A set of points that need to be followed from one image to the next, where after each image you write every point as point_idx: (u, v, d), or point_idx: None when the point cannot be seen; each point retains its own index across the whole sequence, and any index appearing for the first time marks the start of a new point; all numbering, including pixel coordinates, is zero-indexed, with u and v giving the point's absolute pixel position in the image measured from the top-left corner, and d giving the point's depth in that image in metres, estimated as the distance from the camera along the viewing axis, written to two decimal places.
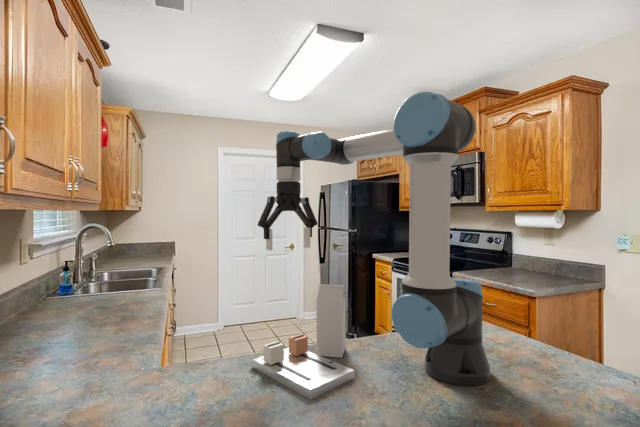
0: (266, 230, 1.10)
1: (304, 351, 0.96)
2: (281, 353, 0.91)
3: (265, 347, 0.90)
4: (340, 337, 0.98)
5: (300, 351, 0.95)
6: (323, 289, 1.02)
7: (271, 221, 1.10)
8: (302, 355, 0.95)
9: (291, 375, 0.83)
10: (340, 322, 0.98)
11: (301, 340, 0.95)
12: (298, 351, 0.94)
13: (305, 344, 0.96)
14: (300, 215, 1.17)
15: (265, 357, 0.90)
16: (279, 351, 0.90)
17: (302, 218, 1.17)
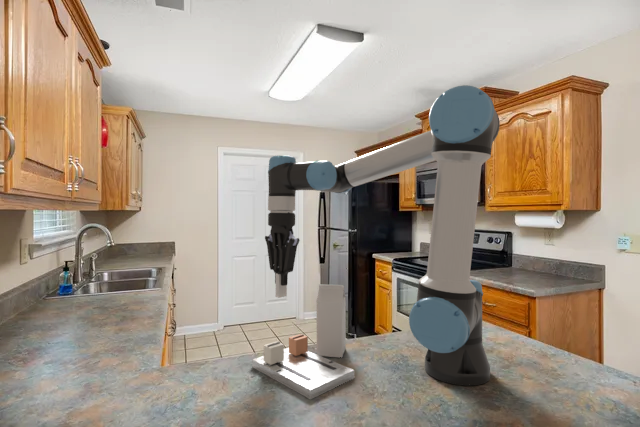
0: (275, 274, 1.02)
1: (304, 351, 0.96)
2: (281, 353, 0.91)
3: (265, 347, 0.90)
4: (340, 337, 0.98)
5: (300, 351, 0.95)
6: (323, 289, 1.02)
7: (274, 263, 1.02)
8: (302, 355, 0.95)
9: (291, 375, 0.83)
10: (340, 322, 0.98)
11: (301, 340, 0.95)
12: (298, 351, 0.94)
13: (305, 344, 0.96)
14: None
15: (265, 357, 0.90)
16: (279, 351, 0.90)
17: None
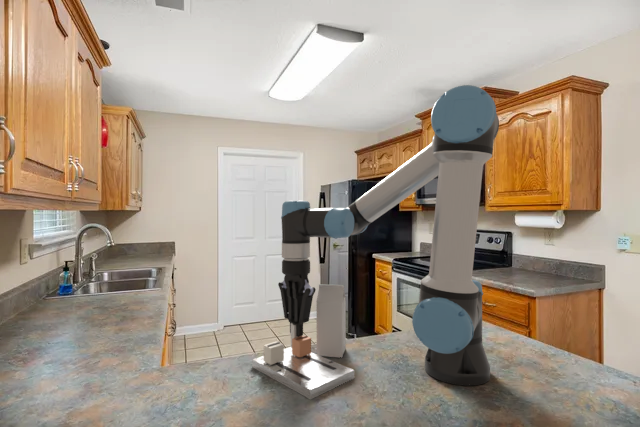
0: (290, 323, 0.98)
1: (308, 352, 0.95)
2: (281, 353, 0.91)
3: (265, 347, 0.90)
4: (340, 337, 0.98)
5: (304, 353, 0.94)
6: (323, 289, 1.02)
7: (289, 312, 0.97)
8: None
9: (291, 375, 0.83)
10: (340, 322, 0.98)
11: (305, 341, 0.94)
12: (301, 353, 0.93)
13: (309, 345, 0.95)
14: None
15: (265, 357, 0.90)
16: (279, 351, 0.90)
17: None
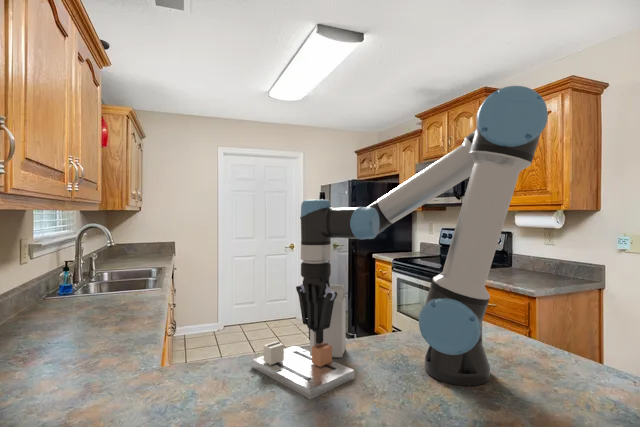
0: (309, 330, 0.92)
1: (328, 361, 0.89)
2: (281, 353, 0.91)
3: (265, 347, 0.90)
4: (340, 337, 0.98)
5: (324, 361, 0.88)
6: None
7: (308, 318, 0.91)
8: (302, 355, 0.95)
9: (291, 375, 0.83)
10: (340, 322, 0.98)
11: (325, 350, 0.88)
12: (322, 361, 0.88)
13: (329, 354, 0.89)
14: None
15: (265, 357, 0.90)
16: (279, 351, 0.90)
17: None
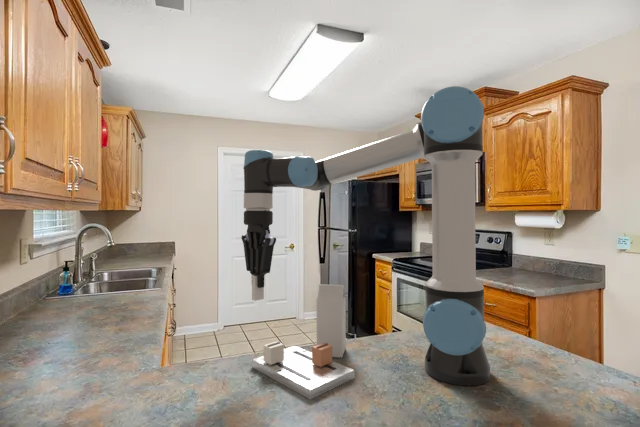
0: None
1: (329, 361, 0.89)
2: (281, 353, 0.91)
3: (265, 347, 0.90)
4: (340, 337, 0.98)
5: (325, 361, 0.88)
6: (323, 289, 1.02)
7: (251, 264, 0.96)
8: (302, 355, 0.95)
9: (291, 375, 0.83)
10: (340, 322, 0.98)
11: (326, 350, 0.88)
12: (322, 362, 0.88)
13: (330, 354, 0.89)
14: None
15: (265, 357, 0.90)
16: (279, 351, 0.90)
17: None
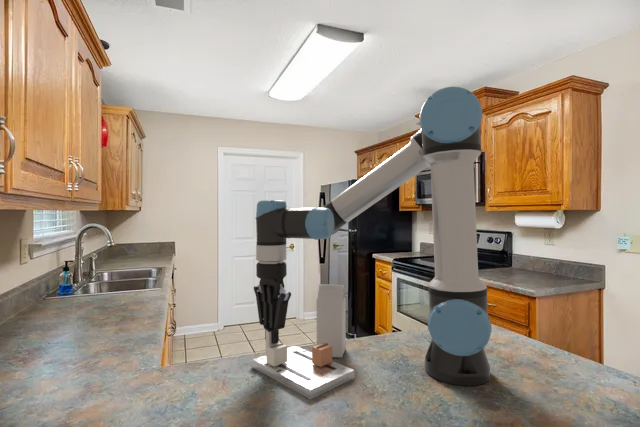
0: (266, 330, 0.92)
1: (329, 361, 0.89)
2: (284, 355, 0.90)
3: (268, 348, 0.89)
4: (340, 337, 0.98)
5: (325, 361, 0.88)
6: (323, 289, 1.02)
7: (264, 318, 0.92)
8: (302, 355, 0.95)
9: (291, 375, 0.83)
10: (340, 322, 0.98)
11: (326, 350, 0.88)
12: (322, 362, 0.88)
13: (330, 354, 0.89)
14: None
15: (268, 359, 0.89)
16: (282, 352, 0.89)
17: None
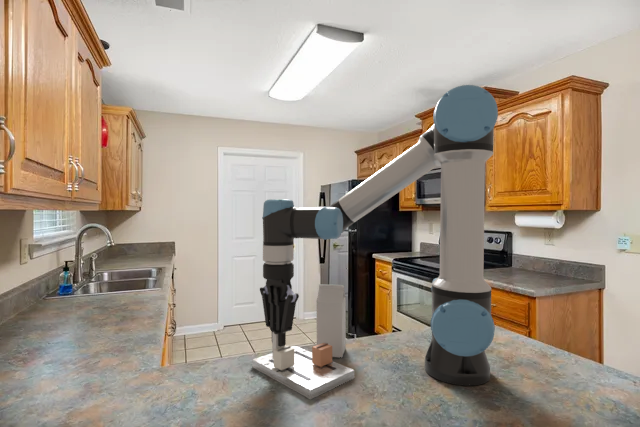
0: None
1: (329, 361, 0.89)
2: (292, 358, 0.87)
3: (275, 352, 0.87)
4: (340, 337, 0.98)
5: (325, 361, 0.88)
6: (323, 289, 1.02)
7: (271, 320, 0.90)
8: (302, 355, 0.95)
9: (291, 375, 0.83)
10: (340, 322, 0.98)
11: (326, 350, 0.88)
12: (322, 362, 0.88)
13: (330, 354, 0.89)
14: None
15: (275, 362, 0.87)
16: (290, 356, 0.87)
17: None
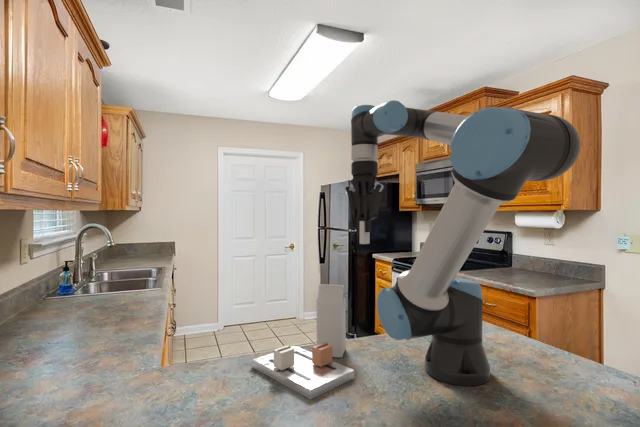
0: (358, 222, 1.05)
1: (329, 361, 0.89)
2: (292, 358, 0.87)
3: (275, 352, 0.87)
4: (340, 337, 0.98)
5: (325, 361, 0.88)
6: (323, 289, 1.02)
7: (357, 212, 1.04)
8: (302, 355, 0.95)
9: (291, 375, 0.83)
10: (340, 322, 0.98)
11: (326, 350, 0.88)
12: (322, 362, 0.88)
13: (330, 354, 0.89)
14: None
15: (275, 362, 0.87)
16: (290, 356, 0.87)
17: None
